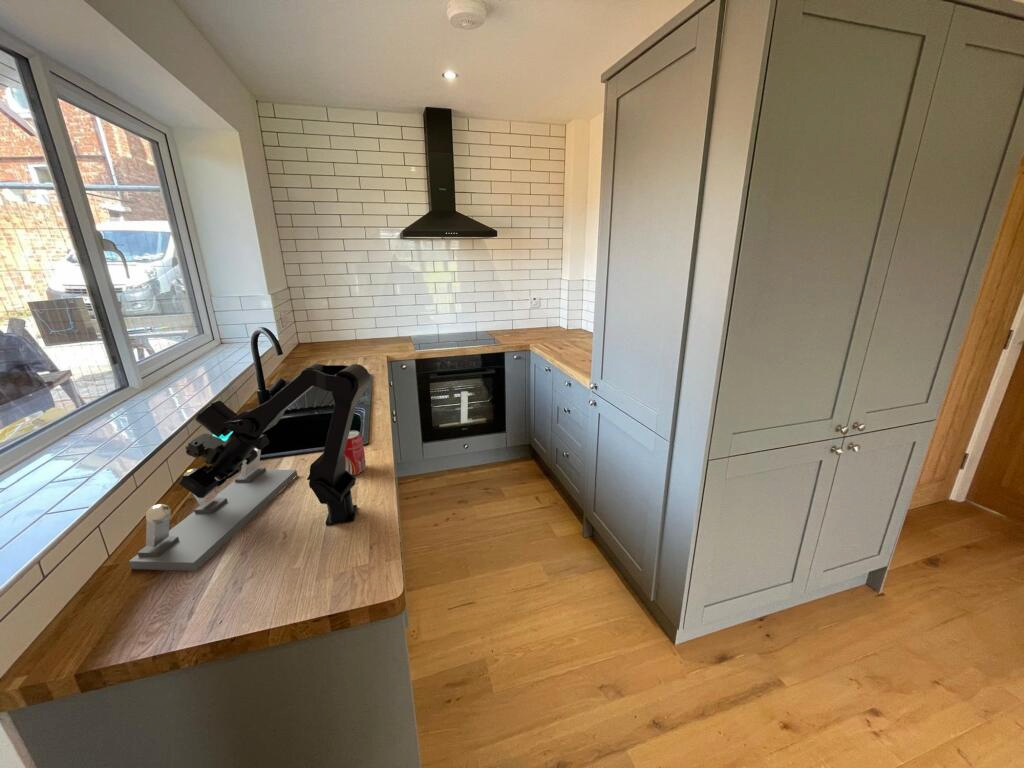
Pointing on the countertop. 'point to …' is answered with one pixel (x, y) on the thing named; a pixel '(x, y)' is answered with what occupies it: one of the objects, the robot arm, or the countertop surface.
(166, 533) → the cream lever
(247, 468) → the grey paddle
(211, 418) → the robot arm
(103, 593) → the countertop surface
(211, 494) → the orange lever
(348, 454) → the soda can
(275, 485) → the switch panel
